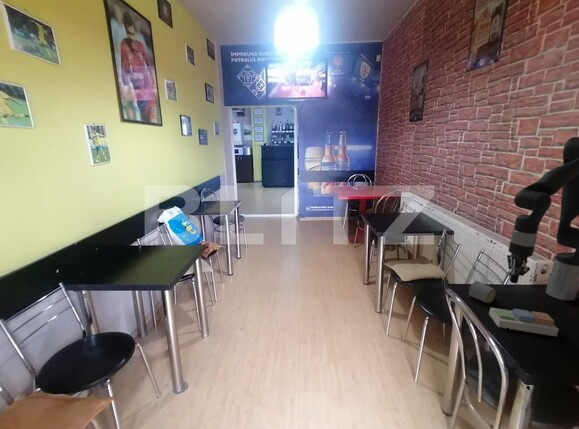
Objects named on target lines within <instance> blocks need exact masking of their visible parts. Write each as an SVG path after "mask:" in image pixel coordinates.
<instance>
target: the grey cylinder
mask: <svg viewBox="0 0 579 429" xmlns="http://www.w3.org/2000/svg"><path fill="white" fill-rule="evenodd" d="M468 295H469V296H470V297H471V298H474V299H476V300H478V301H481V302H483V303H485V304H491V302H493V300H494V299H495V296H496V290H495V289H494V288H493V287H491V286H489V285H486V284H484V283H482V282H481V281H478V280H475V281H473V282H472V283H471V285H470V286H469V290H468Z"/></svg>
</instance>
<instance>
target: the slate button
mask: <svg viewBox="0 0 579 429" xmlns="http://www.w3.org/2000/svg"><path fill="white" fill-rule="evenodd" d="M512 311H513V312H512V314H513V315H514V316H515V318H516V319H517V320H518V321H522V322H529V323H534V320H535V318H534V316H533V315H532V314H531V311H529V310H526V309H519V308H512Z"/></svg>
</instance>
